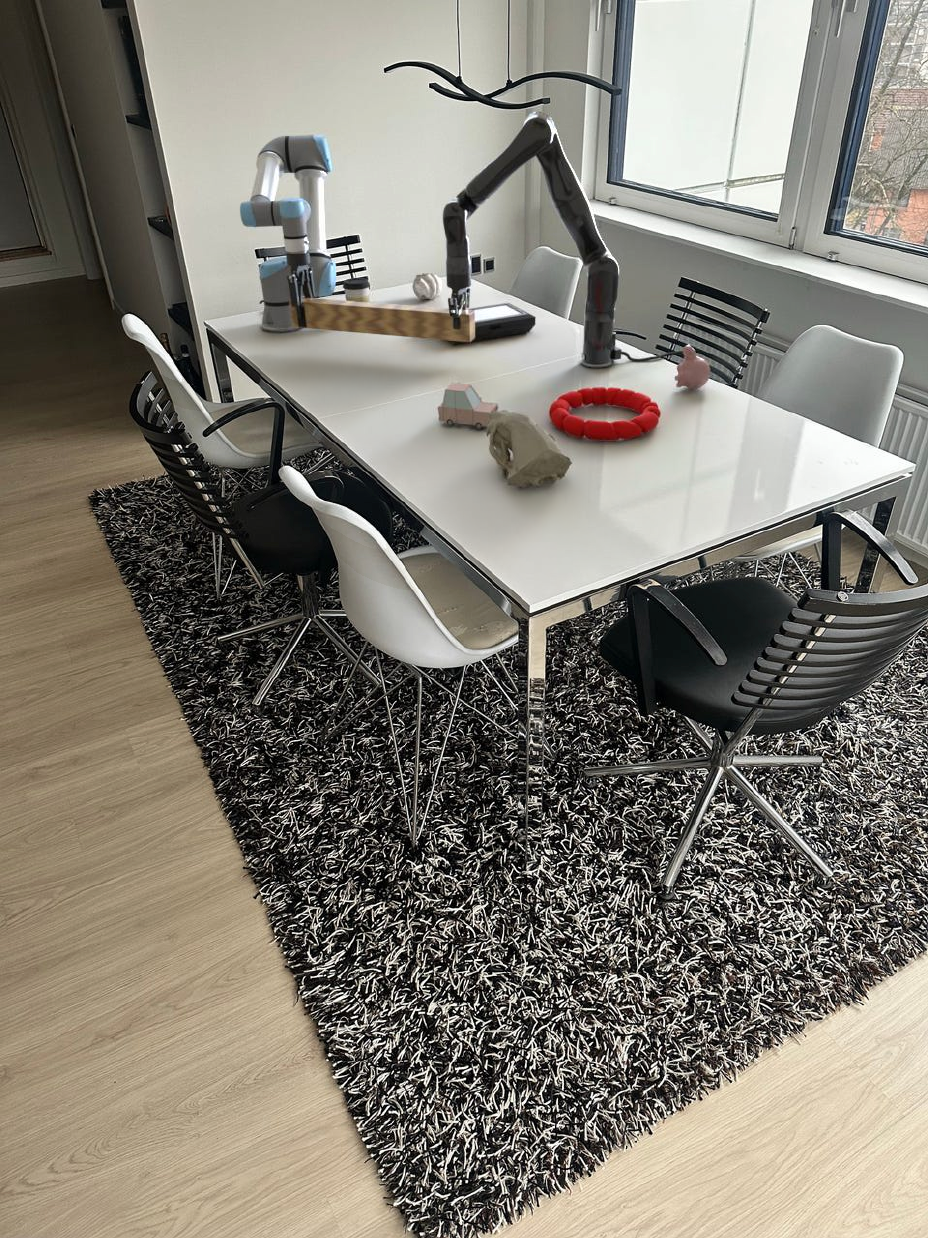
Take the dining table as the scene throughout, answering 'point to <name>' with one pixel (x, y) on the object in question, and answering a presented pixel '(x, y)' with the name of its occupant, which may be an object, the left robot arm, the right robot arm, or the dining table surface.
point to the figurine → (692, 370)
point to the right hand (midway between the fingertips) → (460, 326)
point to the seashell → (427, 286)
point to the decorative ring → (604, 428)
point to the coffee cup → (357, 289)
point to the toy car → (465, 406)
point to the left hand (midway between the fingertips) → (306, 323)
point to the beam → (385, 319)
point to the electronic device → (500, 321)
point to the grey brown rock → (525, 450)
